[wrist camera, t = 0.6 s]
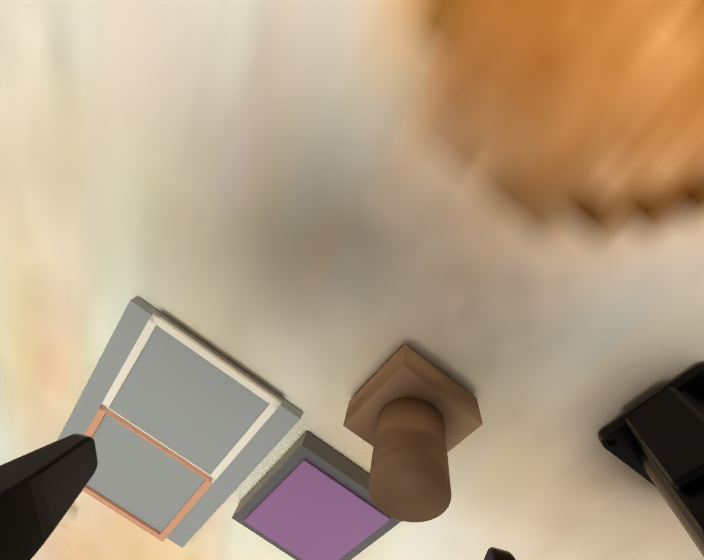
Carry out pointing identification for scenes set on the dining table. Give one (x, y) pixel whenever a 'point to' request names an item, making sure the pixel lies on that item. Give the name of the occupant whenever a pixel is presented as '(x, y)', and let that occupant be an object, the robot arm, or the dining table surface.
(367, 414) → the stamp
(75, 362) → the dining table surface
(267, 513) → the ink pad
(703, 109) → the dining table surface
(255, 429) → the board
